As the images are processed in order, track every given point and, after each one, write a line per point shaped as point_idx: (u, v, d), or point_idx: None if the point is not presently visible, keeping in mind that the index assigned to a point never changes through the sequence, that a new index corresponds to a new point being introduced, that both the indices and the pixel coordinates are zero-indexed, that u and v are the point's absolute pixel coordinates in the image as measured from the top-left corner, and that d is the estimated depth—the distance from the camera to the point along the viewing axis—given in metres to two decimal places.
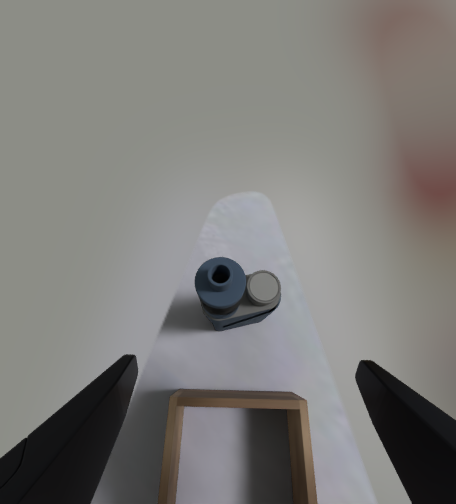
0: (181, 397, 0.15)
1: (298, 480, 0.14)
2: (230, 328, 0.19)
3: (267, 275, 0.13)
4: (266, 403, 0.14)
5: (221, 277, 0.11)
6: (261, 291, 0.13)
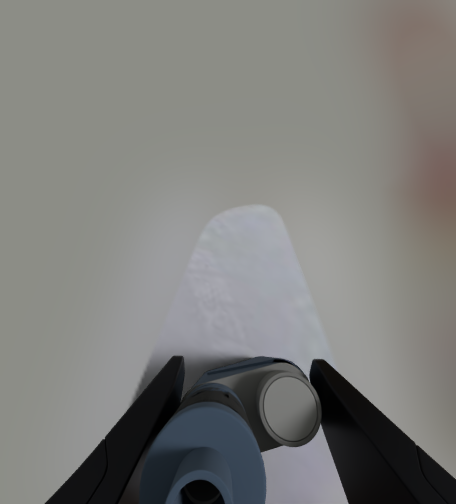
0: None
1: None
2: None
3: (295, 382, 0.07)
4: None
5: None
6: (286, 419, 0.07)
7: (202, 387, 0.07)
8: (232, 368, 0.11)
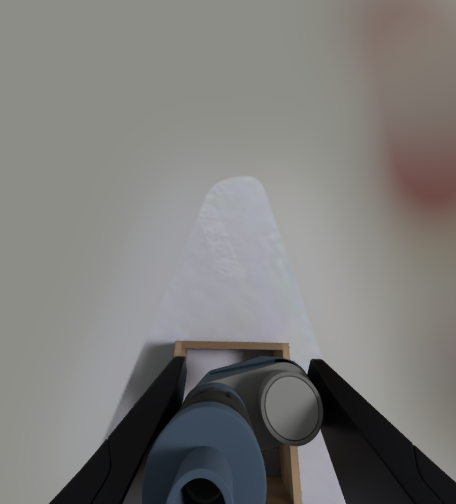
0: (185, 341, 0.18)
1: None
2: None
3: (297, 382, 0.07)
4: (255, 345, 0.18)
5: None
6: (287, 418, 0.07)
7: (204, 387, 0.07)
8: (234, 368, 0.11)
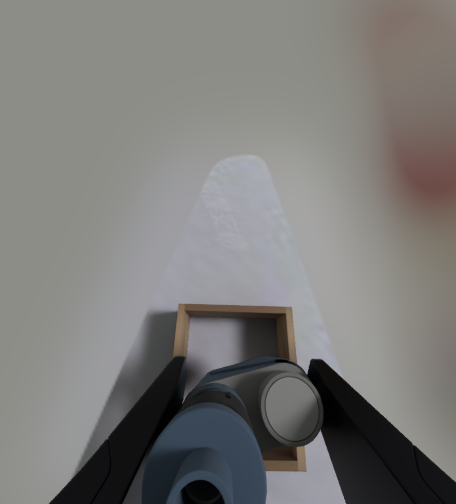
0: (188, 304, 0.18)
1: None
2: None
3: (297, 382, 0.07)
4: (258, 309, 0.18)
5: None
6: (288, 419, 0.07)
7: (204, 387, 0.07)
8: (234, 368, 0.11)
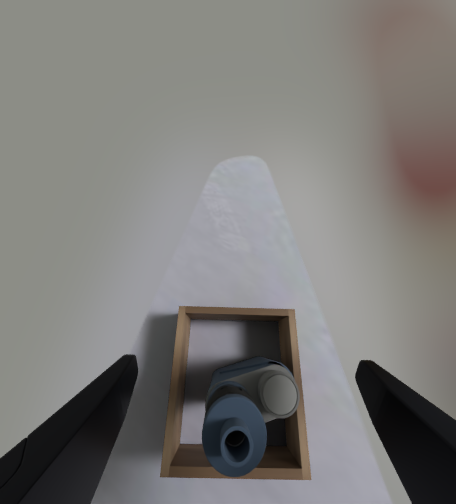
0: (189, 307, 0.17)
1: None
2: None
3: (283, 378, 0.11)
4: (260, 311, 0.17)
5: None
6: (277, 401, 0.11)
7: (222, 384, 0.11)
8: (238, 368, 0.14)
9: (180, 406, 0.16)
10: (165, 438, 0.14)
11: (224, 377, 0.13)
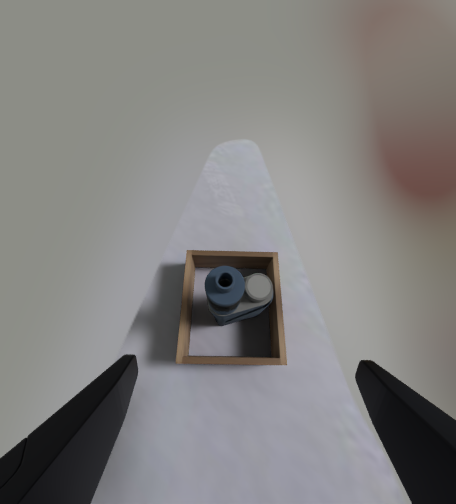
0: (194, 251, 0.22)
1: (271, 302, 0.22)
2: (231, 322, 0.22)
3: (261, 277, 0.16)
4: (250, 253, 0.22)
5: (225, 281, 0.14)
6: (257, 290, 0.16)
7: None
8: None
9: (188, 325, 0.21)
10: (178, 339, 0.19)
11: None
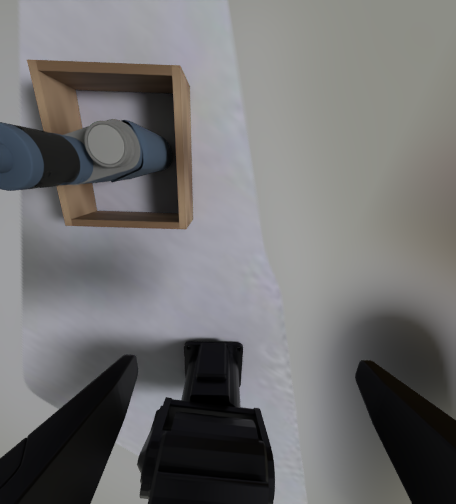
0: (41, 61, 0.13)
1: None
2: (137, 176, 0.18)
3: (108, 128, 0.10)
4: (135, 68, 0.13)
5: None
6: (104, 152, 0.11)
7: None
8: None
9: None
10: (61, 201, 0.16)
11: None
